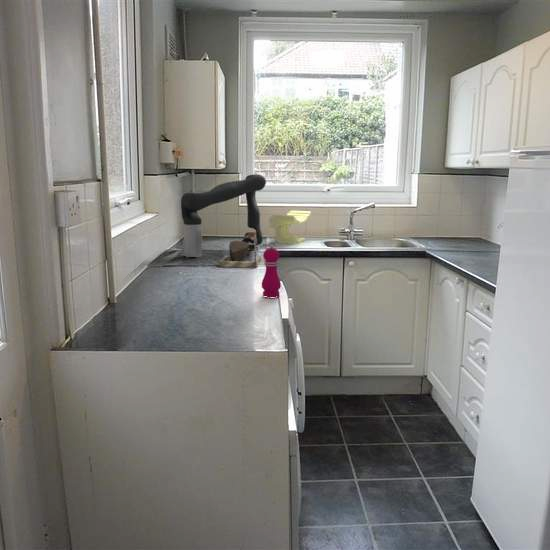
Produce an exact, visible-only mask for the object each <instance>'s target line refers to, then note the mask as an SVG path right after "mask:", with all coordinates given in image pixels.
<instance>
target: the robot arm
mask: <svg viewBox="0 0 550 550" xmlns="http://www.w3.org/2000/svg"><path fill="white" fill-rule="evenodd" d="M266 184H267V180H266V177H264V175H262V174H259V173H257V174H256V173H255V174H249V175H247V176H246V177H245V178H244V179H242V180H233V181H228V182H224V183H221V184H217V185H216V186H215V187H213V188H212V189H210V190H208V191H203V192H185V193H184V194H183V195H182V196H181V199H180V211H181V218H182V221H183V236H184V237H183V239H182V245H183V246H182V247H183V257H184V256H186V257H185V258H189V257H196V258H202V257H203V229H202V228H203V225H202V223H203V221H202V218H201V217H200V216H199V214H198V211H201V210H203V209H205V208H208V207H209V206H212V205H215V204H220V203H223V202H227V201H231V200H233V199H235V198H238V197H240V196H243V195H245V198H246V200H245V201H246V205H247V206H246V208H247V224H246V225H247V227H248V228H249V229H253V230H254V231H255V232H254V231H253V232H250V231H249V232H245V234H244V237H243V239H241V241H242V242H245V243H247V244H249V248H248V252H251V251H253V250H254V238H248V233H256V250H257V249H259V246H260V245H261V244H262V243H263V240H264V239H263V235H262V234H263V233H262V230H261V214H260V209H259V206H258V203H257V200H256V199H257V198H256V192H259V191H262V190H263V189H264V188H265V186H266Z"/></svg>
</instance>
